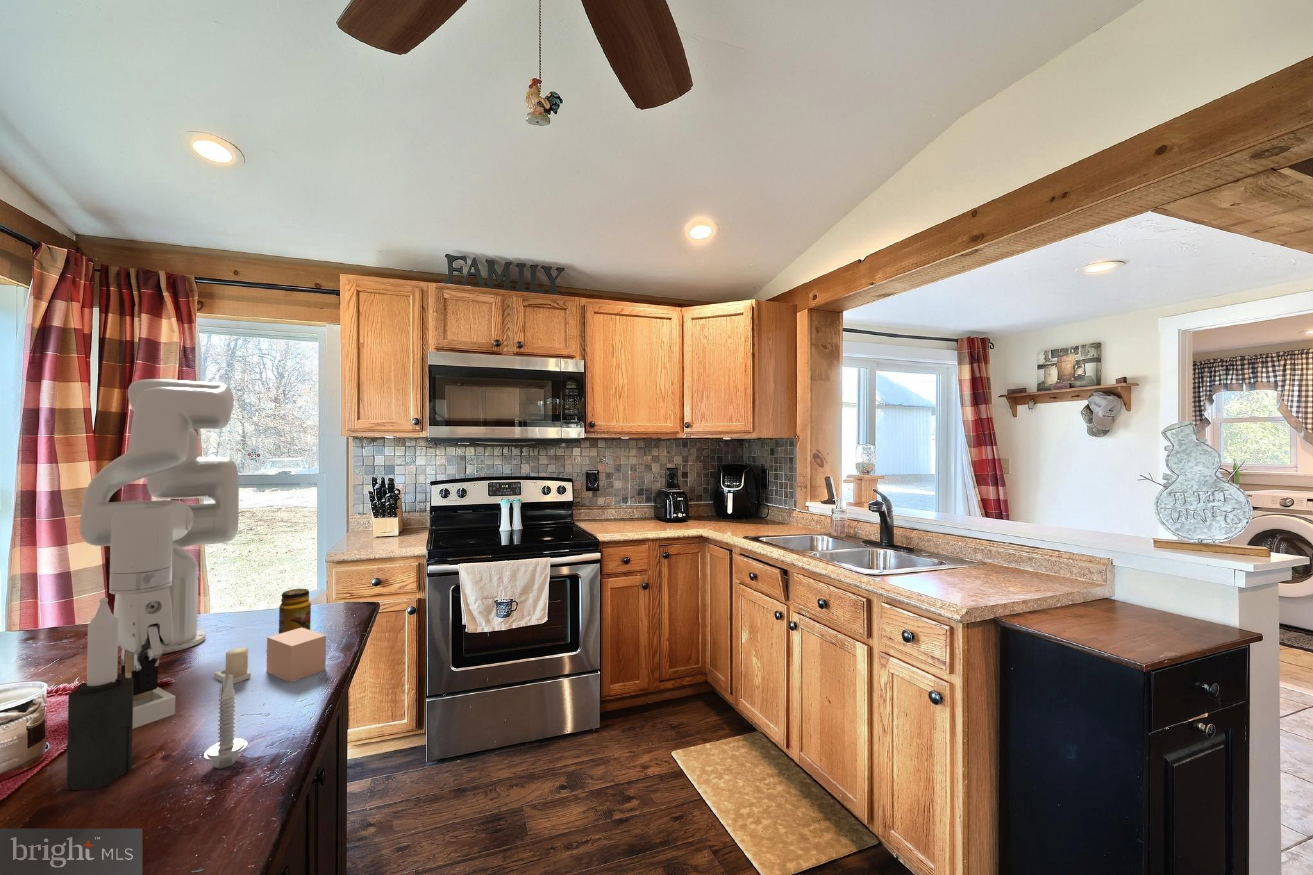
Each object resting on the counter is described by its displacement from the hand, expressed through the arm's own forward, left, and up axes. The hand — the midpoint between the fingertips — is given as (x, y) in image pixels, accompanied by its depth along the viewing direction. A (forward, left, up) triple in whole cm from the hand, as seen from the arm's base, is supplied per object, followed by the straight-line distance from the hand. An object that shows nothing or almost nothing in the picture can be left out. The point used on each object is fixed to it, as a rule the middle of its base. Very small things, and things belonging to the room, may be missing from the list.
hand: (139, 688), depth 88 cm
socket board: (-3, 0, -5) cm, 6 cm away
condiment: (-13, +30, -5) cm, 33 cm away
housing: (+3, +23, -5) cm, 24 cm away
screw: (+27, +1, -5) cm, 27 cm away
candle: (+16, -9, -5) cm, 19 cm away
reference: (-4, +15, -5) cm, 16 cm away
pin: (0, 0, -1) cm, 1 cm away
